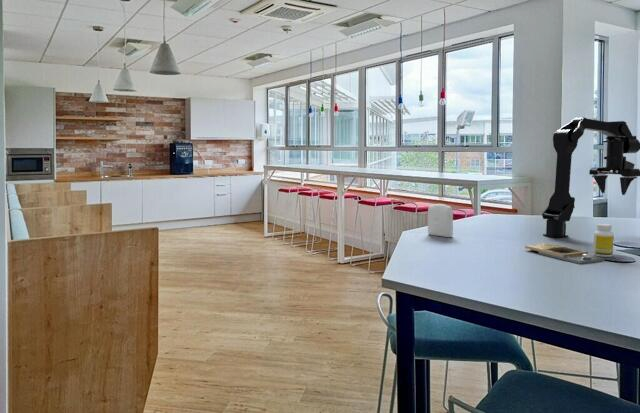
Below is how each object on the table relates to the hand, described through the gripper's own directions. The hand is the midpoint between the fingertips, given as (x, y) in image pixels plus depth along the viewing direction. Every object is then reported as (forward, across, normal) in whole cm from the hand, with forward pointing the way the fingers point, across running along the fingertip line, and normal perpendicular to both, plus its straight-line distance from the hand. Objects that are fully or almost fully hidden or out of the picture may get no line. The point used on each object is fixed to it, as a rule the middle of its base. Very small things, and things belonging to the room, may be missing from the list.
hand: (613, 193), depth 208 cm
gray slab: (+14, -26, +51) cm, 59 cm away
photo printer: (+14, +20, +66) cm, 70 cm away
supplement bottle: (+15, -32, +40) cm, 53 cm away
